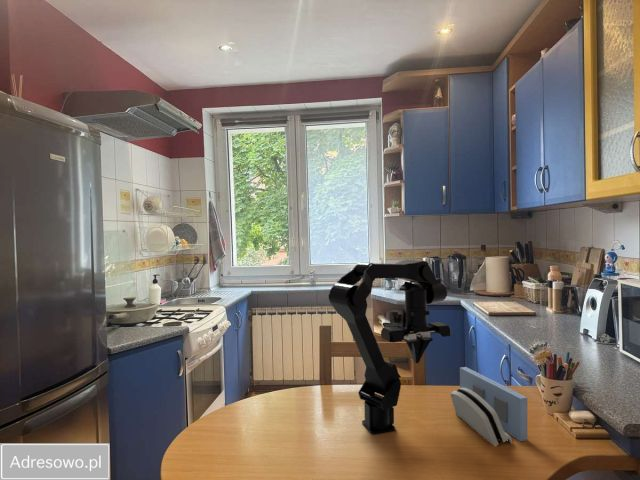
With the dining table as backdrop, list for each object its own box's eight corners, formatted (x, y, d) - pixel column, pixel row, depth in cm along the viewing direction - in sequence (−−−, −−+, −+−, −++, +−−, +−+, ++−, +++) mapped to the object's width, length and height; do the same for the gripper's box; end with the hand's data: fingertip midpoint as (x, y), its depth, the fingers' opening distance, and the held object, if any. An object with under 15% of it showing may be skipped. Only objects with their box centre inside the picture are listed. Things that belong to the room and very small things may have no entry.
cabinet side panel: (518, 441, 92) (518, 399, 91) (458, 402, 113) (458, 367, 112) (527, 439, 92) (527, 397, 92) (465, 401, 113) (465, 366, 113)
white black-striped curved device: (514, 444, 91) (500, 404, 90) (496, 453, 90) (483, 413, 89) (472, 411, 107) (460, 378, 106) (457, 419, 106) (445, 385, 105)
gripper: (428, 299, 118) (429, 350, 119) (372, 303, 113) (372, 357, 113) (452, 305, 108) (452, 362, 108) (390, 310, 102) (391, 370, 102)
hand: (416, 362), depth 108 cm, fingers closed
